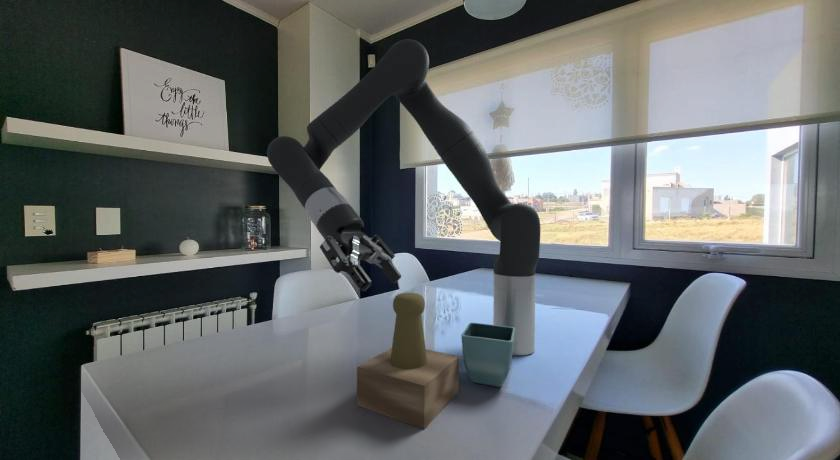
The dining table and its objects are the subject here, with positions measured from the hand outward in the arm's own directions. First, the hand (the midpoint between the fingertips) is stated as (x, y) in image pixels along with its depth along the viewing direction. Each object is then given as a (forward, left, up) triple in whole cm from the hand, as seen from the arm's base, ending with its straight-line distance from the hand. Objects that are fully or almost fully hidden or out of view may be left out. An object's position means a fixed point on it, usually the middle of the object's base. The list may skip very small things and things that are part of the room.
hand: (383, 283), depth 56 cm
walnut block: (0, +5, -18) cm, 19 cm away
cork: (0, +5, -12) cm, 13 cm away
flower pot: (-13, +14, -18) cm, 27 cm away
